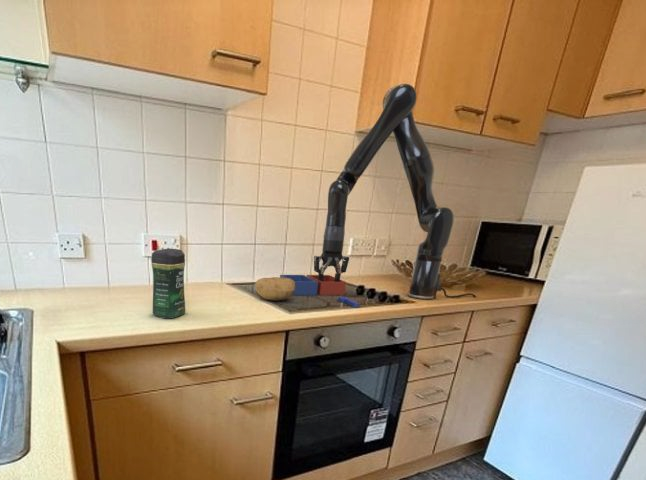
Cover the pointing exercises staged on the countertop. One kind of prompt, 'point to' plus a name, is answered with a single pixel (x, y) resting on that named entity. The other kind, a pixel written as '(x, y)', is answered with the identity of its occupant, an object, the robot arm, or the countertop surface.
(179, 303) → the coffee jar
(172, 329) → the countertop surface
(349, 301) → the blue spoon
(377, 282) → the countertop surface
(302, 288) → the blue bin
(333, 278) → the red bin
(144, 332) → the countertop surface
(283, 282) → the potato
